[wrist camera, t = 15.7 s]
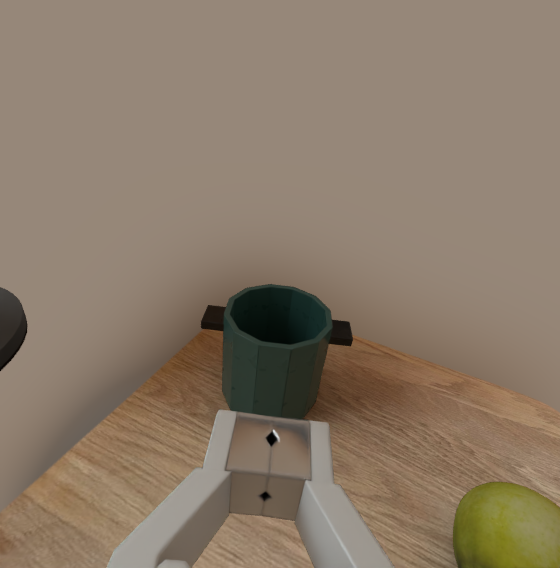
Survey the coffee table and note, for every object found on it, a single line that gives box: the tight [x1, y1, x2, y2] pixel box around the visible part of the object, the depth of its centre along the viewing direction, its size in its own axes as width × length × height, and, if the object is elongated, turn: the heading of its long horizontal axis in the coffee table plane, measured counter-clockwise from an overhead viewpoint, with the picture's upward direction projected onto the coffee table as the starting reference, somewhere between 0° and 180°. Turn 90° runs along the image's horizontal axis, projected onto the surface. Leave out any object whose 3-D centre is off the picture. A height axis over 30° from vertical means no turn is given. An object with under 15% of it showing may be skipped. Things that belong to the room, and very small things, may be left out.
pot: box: [201, 284, 353, 419], centre depth 38 cm, size 16×11×11 cm
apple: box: [453, 482, 560, 568], centre depth 25 cm, size 8×9×8 cm
